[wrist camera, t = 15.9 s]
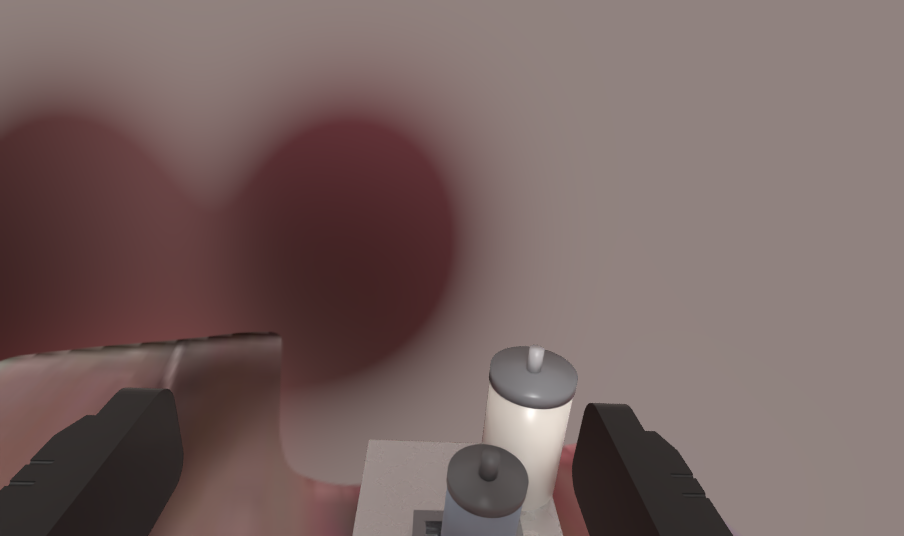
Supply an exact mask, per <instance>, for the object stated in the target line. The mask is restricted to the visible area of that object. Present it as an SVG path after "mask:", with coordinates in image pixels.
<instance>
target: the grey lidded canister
mask: <svg viewBox="0 0 904 536" xmlns="http://www.w3.org/2000/svg"><path fill="white" fill-rule="evenodd" d="M446 483H447V490H446V498H445V505H444V513H443V521H442V528H441V536H516V532H517V528H518V523H519V518H520V514H521V509H522V505H523V503H524V501H525V498H526V494H527V489H528V484H529V479H528V474H527V471H526V469H525V467H524V465H523V464H522V463H521V461H520V460H519V459H518V458H517V457H516V456H514V455H513V454H512V453H510V452H509V451H507V450H505V449H503V448H500V447H497V446H494V445H488V444H475V445H470V446H467V447H464V448H462V449H461V450H459V451H458V452H456V453H455V454H454V455H453V457H452V458H451V460H450V462H449V465H448V470H447V478H446Z"/></svg>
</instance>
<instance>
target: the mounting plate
mask: <svg viewBox="0 0 904 536" xmlns="http://www.w3.org/2000/svg"><path fill="white" fill-rule="evenodd" d="M475 444H482V443H456V442H428V441H399V440H371V439H369V443H368V448H367V454H366V460H365V466H364V471H363V477H362V483H361V489H360V495H359V501H358V506H357V512H356V518H355V524H354V530H353V535H352V536H441V528H442V521H443V513H444V505H445V498H446V490H447V483H446V478H447V470H448V465H449V462H450V460H451V458H452V457H453V455H454V454H455V453H456V452H458V451H459V450H461V449H462V448H464V447H467V446H470V445H475ZM516 536H563V534H562V530H561V526H560V523H559V519H558V515H557V512H556V508H555V505H554V501H553V497H551V499H550V500H549V501H548V502H547V503H546V504H545V505H543V506H542V507H540V508H537V509H534V510H529V511H521V514H520V518H519V523H518V528H517V532H516Z"/></svg>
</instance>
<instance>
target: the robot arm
mask: <svg viewBox="0 0 904 536" xmlns="http://www.w3.org/2000/svg"><path fill="white" fill-rule="evenodd" d="M182 466H183V447H182V441H181V435H180V430H179V424H178V418H177V412H176V406H175V400H174V396H173V393H172V392H171V391H170V390H169V389H155V388H123V389H121V390H119V391H118V392H117V393H116V394H115V395H114V396H113V397H112V398H111V400H110V401H109V402H108V403H107V404H106V405H105V406H104V407H103V408H102V409H101V410H100V412H99V413H98V414H97V415H86V416H84V417H83V418H81V419H80V420H78V421H76V422H75V423H73V424H72V425H70V426H68V427H67V428H65V429H64V430H62V431H60V432H59V433H57V434H56V435H54V436H53V437H52V438H51V439H50V440H49V441H48V442H47V443H46V444H45V445H44V446H43V447H42V448H41V449H40V450H39V452H38V453H37V454H36V455H35V456H34V457H33V458H32V459H31V462H30V464H29V465H25V466H24V467H23V468H22V469H21V470H20V471H19V472H18V473H17V474H16V475H15V476H14V477H13V478H12V479H11V480H10V484H9V486H4V487H3V488H2V489H1V490H0V536H148V535H149V533H150V531H151V529H152V528H153V526H154V524H155V523H156V521H157V519H158V517H159V516H160V514H161V512H162V510H163V509H164V507H165V505H166V503H167V502H168V500H169V498H170V496H171V495H172V493H173V491H174V489H175V488H176V486H177V483H178V481H179V478H180V475H181V471H182ZM572 478H573V486H574V491H575V495H576V498H577V501H578V504H579V506H580V509H581V512H582V515H583V518H584V521H585V524H586V526H587V529H588V532H589V535H590V536H733V535H732V533H731V532H730V530H729V529H728V527H727V526H726V524H725V522H724V521H723V519H722V518H721V516H720V515H719V513H718V512H717V510H716V509H715V507H714V506H713V504H712V503H711V501H710V499H709V498H706V496H705V492H704V490H703V489H702V487H701V486H700V484H699V483H698V481H697V479H696V478H693V474H692V472H691V470H690V469H689V467H688V466H687V464H686V463H685V461H684V460H683V458H682V456H681V455H680V454H679V452H678V451H677V450H676V449H675V448H674V447H673V446H672V445H670V444H669V443H668V442H667V441H666V440H665V439H663V438H662V437H661V436H660V435H659V434H658V433H656V432H655V431H645V430H644V429H643V427H642V425H641V424H640V422H639V421H638V419H637V417H636V416H635V414H634V412H633V410H632V409H631V408H630V407H629V406H628V405H626V404H604V403H589V404H588V405H587V406H586V408H585V411H584V415H583V420H582V424H581V428H580V433H579V437H578V441H577V446H576V450H575V454H574V459H573V465H572Z"/></svg>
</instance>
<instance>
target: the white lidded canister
mask: <svg viewBox="0 0 904 536" xmlns="http://www.w3.org/2000/svg"><path fill="white" fill-rule="evenodd" d="M489 380H490V382H489V390H488V398H487V406H486V414H485V423H484V431H483V438H482V444H488V445H494V446H497V447H500V448H503V449H505V450H507V451H509V452H510V453H512V454H513V455H514V456H516V457H517V458H518V459H519V460H520V461H521V463H522V464H523V465H524V467H525V469H526V471H527V474H528V479H529V484H528V489H527V494H526V498H525V501H524V503H523V505H522V509H521V511H529V510H534V509H537V508H540V507H542V506H543V505H545V504H546V503H547V502H548V501H549V500H550V499H551V497H552V495H553V492H554V487H555V482H556V477H557V472H558V467H559V463H560V458H561V453H562V448H563V443H564V438H565V433H566V428H567V423H568V418H569V414H570V409H571V404H572V399H573V397H574V395H575V391H576V385H577V380H578V376H577V372H576V370H575V368H574V367H573V366H572V365H571V364H570V363H569V362H568V361H567V360H566V359H564V358H563V357H561V356H559V355H557V354H555V353H553V352H551V351H548V350H545V349H544V348H543V347H542V346H539V345H532V346H530V347H527V346H522V347H521V346H519V347H511V348H507V349H504V350H502V351H500V352H498V353H497V354H495V355H494V357H493V358H492V360H491V364H490V373H489Z"/></svg>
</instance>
